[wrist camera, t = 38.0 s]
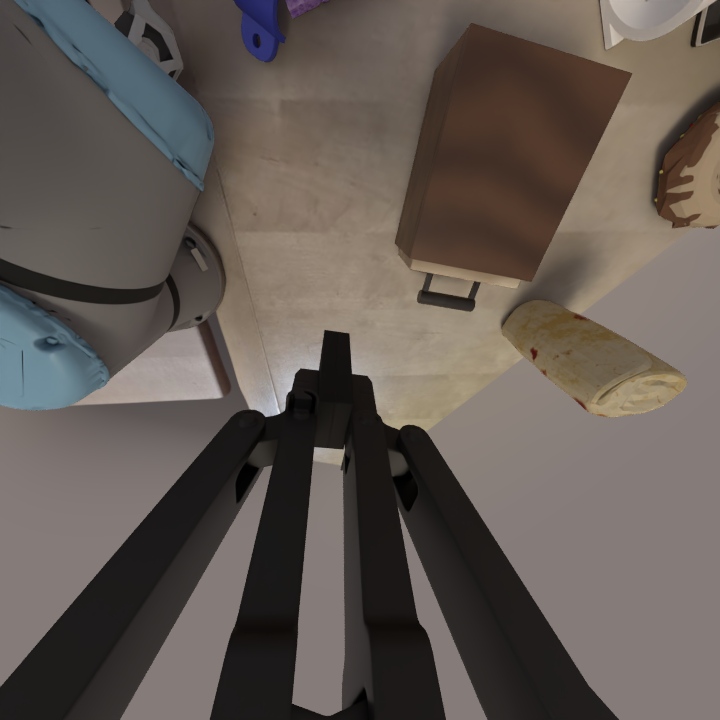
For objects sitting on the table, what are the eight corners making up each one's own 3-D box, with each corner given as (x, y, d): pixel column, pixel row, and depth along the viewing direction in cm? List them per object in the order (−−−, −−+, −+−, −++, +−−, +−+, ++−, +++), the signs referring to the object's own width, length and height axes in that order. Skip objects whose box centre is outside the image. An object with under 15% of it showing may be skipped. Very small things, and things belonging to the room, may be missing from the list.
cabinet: (491, 262, 39) (531, 281, 31) (394, 243, 37) (409, 258, 29) (555, 104, 31) (633, 73, 23) (434, 70, 29) (471, 22, 21)
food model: (498, 345, 46) (590, 437, 29) (494, 308, 43) (596, 387, 26) (561, 325, 45) (696, 410, 28) (562, 286, 42) (716, 354, 24)
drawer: (474, 301, 41) (500, 324, 34) (390, 287, 39) (399, 307, 33) (544, 129, 31) (599, 112, 25) (435, 99, 30) (462, 73, 23)
